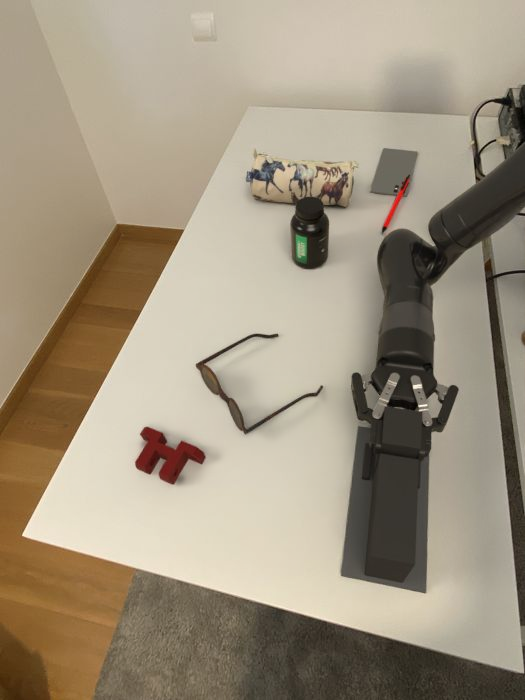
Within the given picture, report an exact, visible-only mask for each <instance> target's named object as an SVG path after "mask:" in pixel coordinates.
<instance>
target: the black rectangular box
mask: <svg viewBox="0 0 525 700" xmlns="http://www.w3.org/2000/svg"><path fill="white" fill-rule="evenodd" d="M422 414H423V412H422V411H415V410H408V409H405V408H402V407H387V406H385V408H384V414H383V416H382V421H383V429H382V441H381V451H380V453H382V454H388V455H394V456H400V457H407V458H413V459H417V457H418V455H419V452H420V451H421V443H422ZM379 456H380V454H376V456H375V467H374V472H375V471H376V467H377V464H378V460H379Z"/></svg>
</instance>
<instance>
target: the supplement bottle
mask: <svg viewBox="0 0 525 700" xmlns="http://www.w3.org/2000/svg"><path fill="white" fill-rule="evenodd" d="M294 209H295V211H294V214H293V215H292V217H291V219H290V224H289V225H290V226H289V229H290V249H291V251H290V252H291V259H292V262H293V263H294V264H295V265H296V266H297V267H299V268H301V269H305V270H312V269H313V270H314V269H317V268H320V267H321V266H324V264H325V263H326V262H327V260H328V257H329V246H330V245H329V243H330V219H329V217H328V215H327V214H326V213H325V205H324V204H323V202H322V201H321V199H319V198H317V197H312V196H311V197H303V198H301V199H300V200H299V201H297V203H295V207H294Z"/></svg>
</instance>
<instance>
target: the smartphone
mask: <svg viewBox="0 0 525 700" xmlns="http://www.w3.org/2000/svg"><path fill="white" fill-rule="evenodd" d="M418 154H419V153H418V151H417V150H416V151H415V150H406V149H397V148H389V147H383V148H382V151H381V155H380V158H379V161H378V164H377V168H376V170H375V173H374V177H373V179H372V183H371V186H370V190H369V192H370V193H371V194H379V195H380V194H381V195H387V196H393V197H394V196H395V197H397V195H398V193H399V191H400V189H401V187H402V185H403V183H404V181H405V178H406V177H408V175H410V177H409V178H410V180H409V182H408V184H407V186H406V188H405V191H404V193H403V195H402V197H401V198H407V197H408V194H409V190H410V187H411V182H412V179H413V178H412V177H413V173H414V169H415V165H416V161H417V157H418Z"/></svg>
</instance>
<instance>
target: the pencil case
mask: <svg viewBox="0 0 525 700" xmlns="http://www.w3.org/2000/svg"><path fill="white" fill-rule="evenodd" d="M252 155H253V156H252V157H253V158H254V161H253V164H252V167H251V171H248V170H247V171H246V178H245V182H246V183H249V184H250V189H251V194H252V195H251V196H252V197H253V198H254V199H255V200H261V201H266V202H272V203H287V204H296V203H297V201H299V200H300V199H301V198H303V197H311V196H312V197H317V198H319V199H321V201H322V202H323V204H324V206H335V205H337V206H339V207H343V208H347V207H349V205H350V202H351V197H352V193H353V190H354V185H355V179H354V170H355V168H356V169H359V163H358V162H357V161H355V160H353V161H352V160H345V161H335V162H332V161H319V160H318V161H317V160H316V161H315V160H294V159H286V158H279V157H274V156H270V155H268V154H267V153H266V152H259V153H258V152H257V150H256V148H253V151H252Z"/></svg>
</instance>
